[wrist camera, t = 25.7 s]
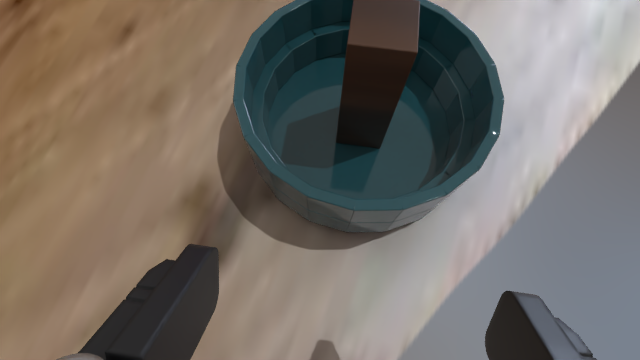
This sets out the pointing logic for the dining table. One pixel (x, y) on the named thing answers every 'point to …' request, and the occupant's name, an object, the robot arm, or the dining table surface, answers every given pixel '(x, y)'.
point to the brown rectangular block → (376, 68)
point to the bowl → (403, 132)
